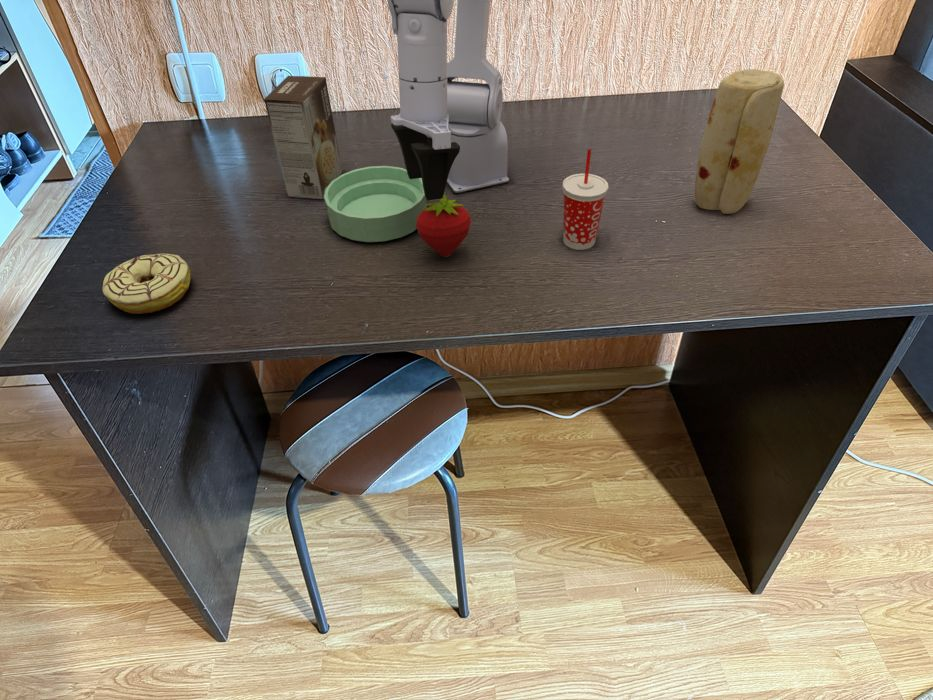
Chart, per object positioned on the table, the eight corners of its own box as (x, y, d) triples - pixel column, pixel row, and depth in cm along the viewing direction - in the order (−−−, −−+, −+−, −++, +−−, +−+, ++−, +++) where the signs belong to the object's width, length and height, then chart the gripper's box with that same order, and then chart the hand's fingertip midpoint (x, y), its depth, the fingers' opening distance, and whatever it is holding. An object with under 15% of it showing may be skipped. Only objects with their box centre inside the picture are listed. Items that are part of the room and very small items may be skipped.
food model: (737, 191, 102) (776, 60, 88) (759, 213, 97) (804, 78, 84) (679, 198, 101) (709, 67, 87) (698, 221, 96) (733, 86, 82)
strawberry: (415, 247, 93) (409, 185, 86) (466, 240, 94) (465, 177, 87) (422, 271, 89) (417, 207, 82) (476, 263, 90) (475, 199, 83)
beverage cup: (573, 257, 90) (583, 165, 81) (549, 236, 94) (556, 145, 85) (609, 245, 92) (623, 153, 83) (584, 224, 96) (595, 134, 87)
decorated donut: (145, 264, 92) (135, 241, 89) (210, 277, 89) (202, 254, 86) (93, 309, 84) (80, 286, 82) (161, 325, 82) (151, 302, 79)
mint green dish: (410, 184, 106) (408, 158, 103) (441, 231, 96) (439, 204, 93) (320, 203, 102) (315, 177, 99) (341, 254, 92) (336, 227, 89)
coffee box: (307, 169, 110) (287, 73, 99) (343, 172, 109) (327, 76, 98) (286, 197, 104) (262, 98, 93) (324, 200, 103) (304, 100, 92)
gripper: (374, 66, 81) (381, 172, 89) (407, 94, 70) (411, 212, 78) (428, 62, 83) (430, 166, 91) (468, 89, 72) (466, 205, 80)
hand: (425, 187), depth 84 cm, fingers open, 7 cm apart
